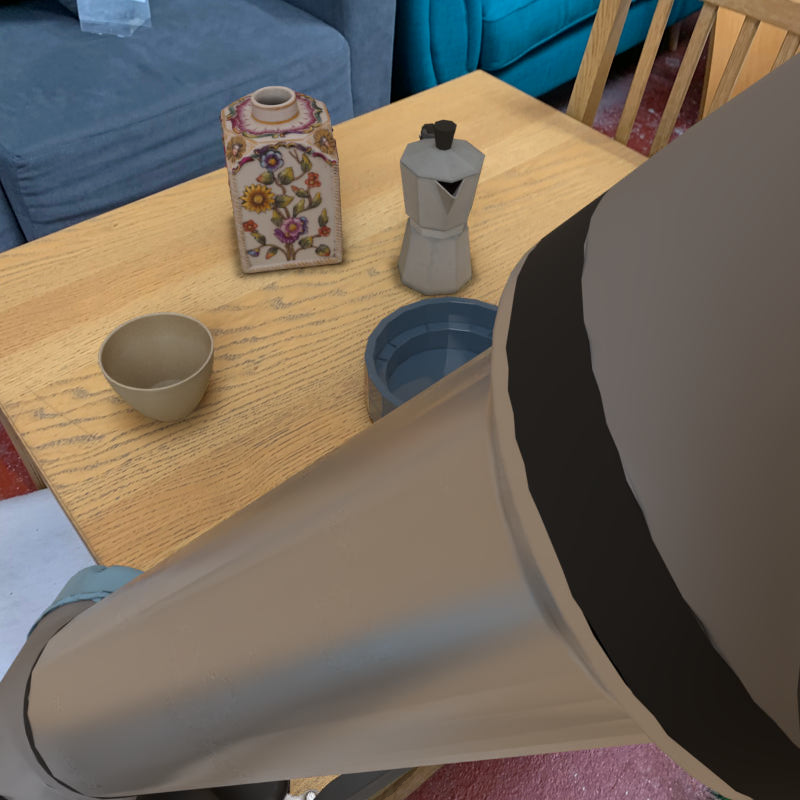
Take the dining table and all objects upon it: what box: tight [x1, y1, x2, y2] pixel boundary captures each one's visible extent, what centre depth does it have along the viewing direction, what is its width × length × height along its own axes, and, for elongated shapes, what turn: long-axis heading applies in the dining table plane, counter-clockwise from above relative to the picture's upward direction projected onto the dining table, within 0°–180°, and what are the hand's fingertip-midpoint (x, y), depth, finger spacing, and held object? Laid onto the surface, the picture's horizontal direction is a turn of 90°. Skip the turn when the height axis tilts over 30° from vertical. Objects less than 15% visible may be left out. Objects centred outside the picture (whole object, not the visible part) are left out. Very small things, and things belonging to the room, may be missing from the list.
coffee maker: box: [397, 119, 486, 297], centre depth 82 cm, size 15×9×18 cm, turn 9°
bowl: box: [363, 296, 498, 423], centre depth 72 cm, size 17×17×6 cm
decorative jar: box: [218, 85, 344, 274], centre depth 84 cm, size 12×12×18 cm
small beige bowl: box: [97, 311, 215, 423], centre depth 70 cm, size 10×10×7 cm
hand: (373, 550), depth 51 cm, fingers open, 13 cm apart
